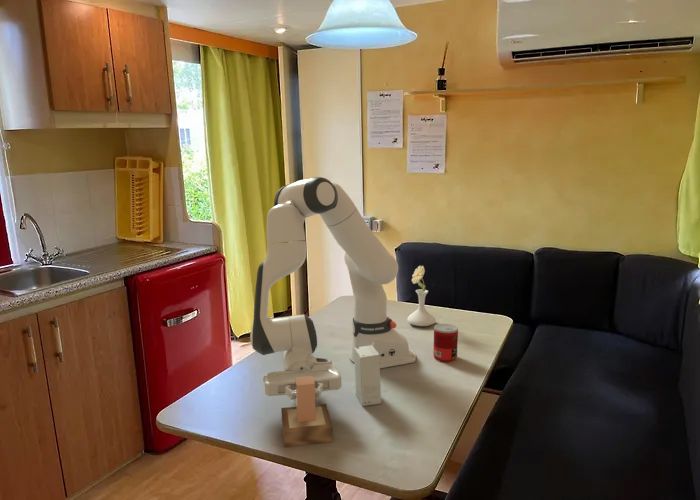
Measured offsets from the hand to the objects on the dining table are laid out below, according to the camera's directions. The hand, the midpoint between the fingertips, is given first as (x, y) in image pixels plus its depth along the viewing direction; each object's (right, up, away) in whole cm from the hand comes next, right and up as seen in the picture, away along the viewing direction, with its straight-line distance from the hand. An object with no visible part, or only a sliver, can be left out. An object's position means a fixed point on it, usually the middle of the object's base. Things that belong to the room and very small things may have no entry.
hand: (305, 395), depth 133 cm
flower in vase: (+40, +6, +79) cm, 89 cm away
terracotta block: (0, -6, +2) cm, 6 cm away
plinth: (0, -10, +3) cm, 10 cm away
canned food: (+44, 0, +47) cm, 64 cm away
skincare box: (+16, -7, +20) cm, 26 cm away
